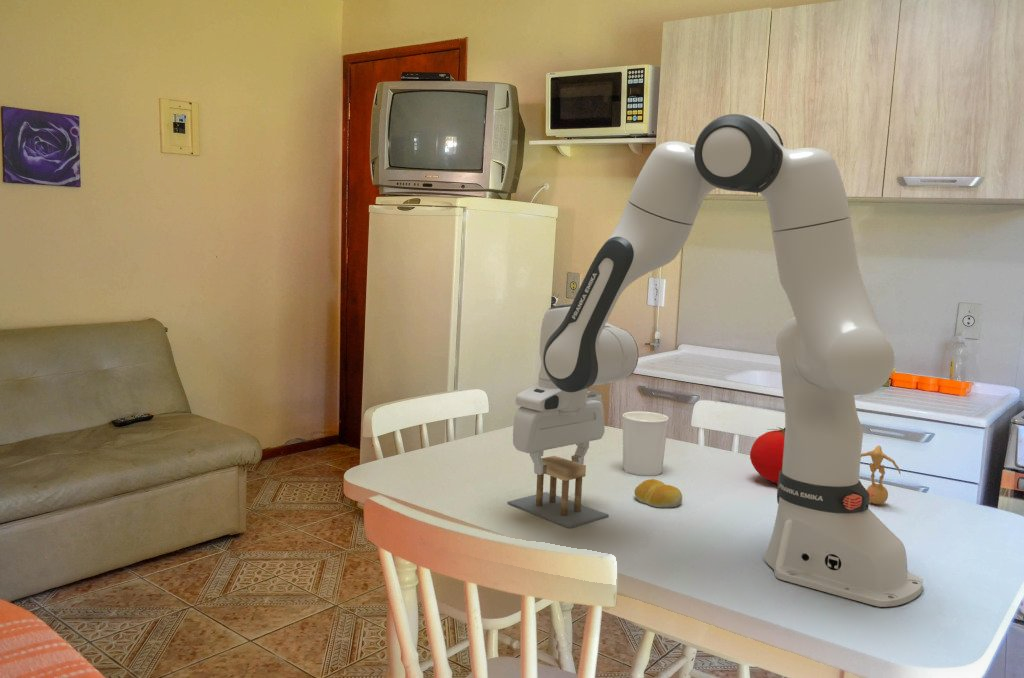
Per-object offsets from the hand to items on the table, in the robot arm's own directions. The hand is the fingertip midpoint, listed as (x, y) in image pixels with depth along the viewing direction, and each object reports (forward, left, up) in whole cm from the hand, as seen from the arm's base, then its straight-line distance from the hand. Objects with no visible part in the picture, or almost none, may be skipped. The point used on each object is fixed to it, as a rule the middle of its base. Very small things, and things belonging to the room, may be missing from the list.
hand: (559, 469), depth 148 cm
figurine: (-34, -53, -8) cm, 63 cm away
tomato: (-15, -52, -8) cm, 55 cm away
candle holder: (+8, -34, -8) cm, 36 cm away
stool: (0, 0, -7) cm, 7 cm away
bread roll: (-7, -20, -8) cm, 23 cm away
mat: (0, 0, -8) cm, 8 cm away
